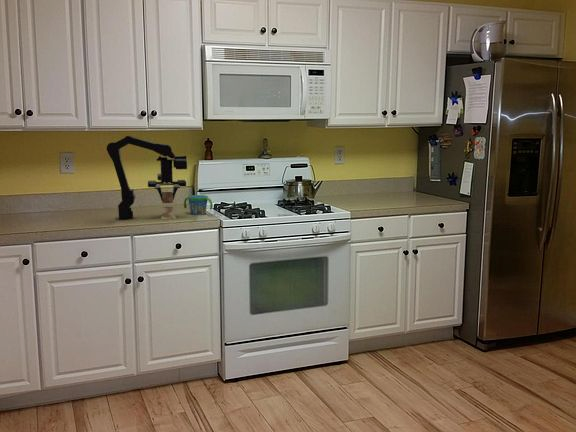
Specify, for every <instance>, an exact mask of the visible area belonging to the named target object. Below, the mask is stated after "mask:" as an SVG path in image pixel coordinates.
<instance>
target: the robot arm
mask: <svg viewBox="0 0 576 432" xmlns="http://www.w3.org/2000/svg"><path fill="white" fill-rule="evenodd" d="M128 145H131V146H136V147H139V148H143V149H146V150H150V151H152V152H155V153H157V154H159V156H158V157H157V158H156V161H157V162H160V173H157V174H156V175H157V178H156V179H157V181H156V180H155V179H154V180H148V181H147V187H148V188H153V189H155V190H157V191H158V193H159V194H158V195H159V196H160V197H159V198H160V200H161V202H162V201H163V199H162V187H161V186H172V193H173V201H174V200H175V196H176V193H177V192H178V189H180V187H187V181H186V180H185V179H177V181H176V180H175V181H174V180H173V178H174V177H173V168H175V170H188V161H187V155H175V153H174V152H173V149H172V146H171V145H170V144H168V143H167V144H166V143H160V142H159V143H158V142H153V141H152V142H151V141H149V140H144V139H141V138H138V137H135V136H132V135H126V136H124V138H122V139H119V140H118V141H112V142H109V143H108V144H107V145H106V152H107V154H108V155H109V157H110V159H111V161H112V163H113V166H114V169H115V172H116V176H117V179H118V182H119V185H120V186H119V187H120V190H121V191H120V193H121V201H120V203H119V204H117V207H118V211H117V212H118V220H122V221H127V220H132V219H134V210H132V207H131V206H132V205H134V203H135V201H136V197H137V195H136V194H135V189H134V188H132V189H131V187H130V186H129V182H128V178H127V175H126V172H125V169H124V165H123V162H122V161H123V160H122V154H121V153H122V152H121V149H122V148H124V147H126V146H128ZM162 156H163V157H162Z"/></svg>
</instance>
